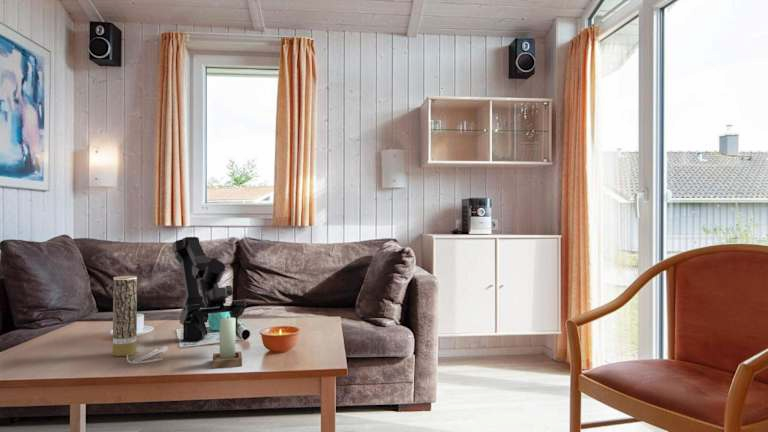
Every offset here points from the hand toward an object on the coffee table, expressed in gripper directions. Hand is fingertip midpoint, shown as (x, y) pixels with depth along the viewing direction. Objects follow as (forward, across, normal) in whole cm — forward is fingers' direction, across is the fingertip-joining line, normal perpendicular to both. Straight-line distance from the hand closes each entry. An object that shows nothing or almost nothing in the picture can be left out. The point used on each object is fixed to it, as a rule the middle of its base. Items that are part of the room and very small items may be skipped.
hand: (221, 332), depth 156 cm
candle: (+9, 0, +1) cm, 9 cm away
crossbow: (-5, -17, +18) cm, 25 cm away
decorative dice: (-23, +14, +36) cm, 45 cm away
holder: (+10, 0, +2) cm, 10 cm away
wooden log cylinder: (-10, -24, +23) cm, 34 cm away
